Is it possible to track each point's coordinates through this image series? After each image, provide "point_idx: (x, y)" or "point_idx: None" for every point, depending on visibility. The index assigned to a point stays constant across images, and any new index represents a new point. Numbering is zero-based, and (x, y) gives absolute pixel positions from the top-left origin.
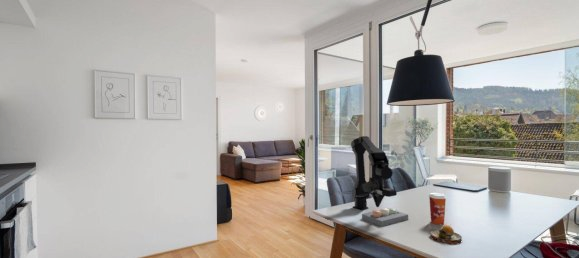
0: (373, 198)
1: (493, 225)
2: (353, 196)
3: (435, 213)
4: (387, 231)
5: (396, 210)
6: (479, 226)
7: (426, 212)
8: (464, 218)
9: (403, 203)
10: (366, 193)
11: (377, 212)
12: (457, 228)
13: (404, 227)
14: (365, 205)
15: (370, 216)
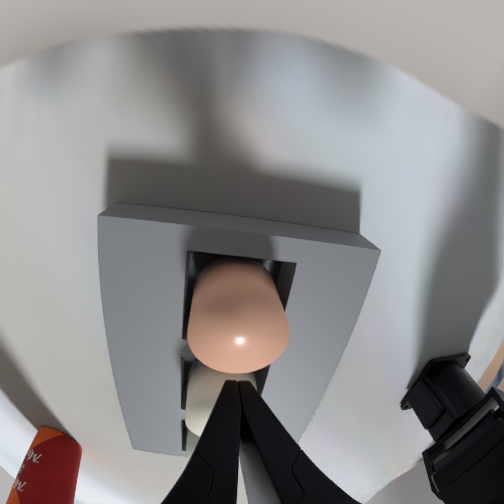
0: (315, 470)
1: (21, 463)
2: (501, 392)
3: (31, 460)
4: (34, 149)
5: (186, 454)
6: (17, 450)
7: None
8: (79, 485)
9: None
10: (446, 463)
11: (197, 309)
12: (4, 418)
13: (40, 313)
14: (418, 403)
15: (274, 249)
